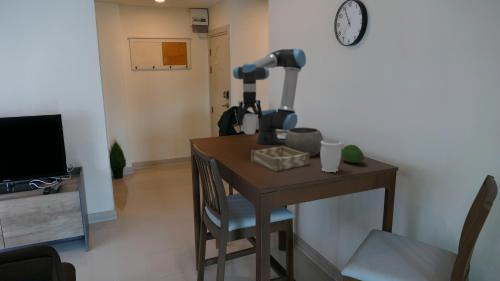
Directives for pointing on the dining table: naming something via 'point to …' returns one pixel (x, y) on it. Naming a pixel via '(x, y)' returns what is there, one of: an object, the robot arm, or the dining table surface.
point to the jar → (330, 155)
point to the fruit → (352, 154)
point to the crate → (279, 158)
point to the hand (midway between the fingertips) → (249, 129)
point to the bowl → (304, 140)
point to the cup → (250, 123)
